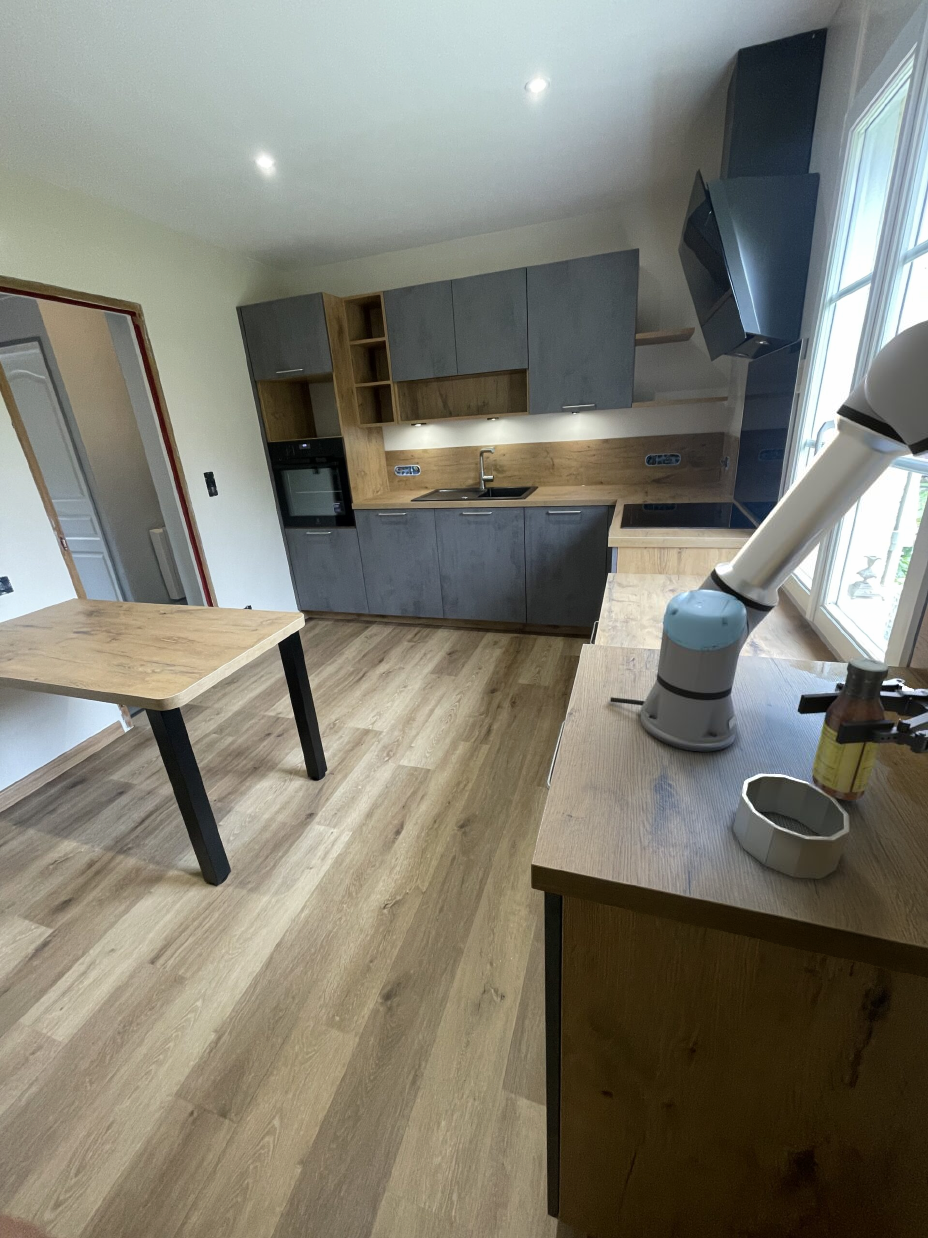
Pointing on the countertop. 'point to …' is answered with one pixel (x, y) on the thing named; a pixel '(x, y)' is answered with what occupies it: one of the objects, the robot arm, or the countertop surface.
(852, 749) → the sauce bottle
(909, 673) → the countertop surface
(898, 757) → the countertop surface
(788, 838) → the tin
